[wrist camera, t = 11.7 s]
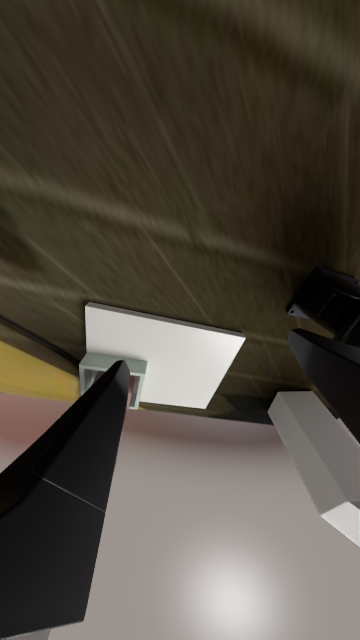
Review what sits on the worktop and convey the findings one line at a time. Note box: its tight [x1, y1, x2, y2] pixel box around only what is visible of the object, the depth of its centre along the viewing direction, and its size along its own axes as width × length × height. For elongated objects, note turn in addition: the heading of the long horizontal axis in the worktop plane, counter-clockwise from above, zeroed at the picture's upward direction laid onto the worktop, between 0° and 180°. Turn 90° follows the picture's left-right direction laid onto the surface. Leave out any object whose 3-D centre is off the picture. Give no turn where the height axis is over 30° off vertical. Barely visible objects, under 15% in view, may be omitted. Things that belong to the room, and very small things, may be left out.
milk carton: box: [268, 391, 360, 547], centre depth 26 cm, size 7×7×19 cm
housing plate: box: [79, 302, 246, 409], centre depth 26 cm, size 22×18×4 cm
